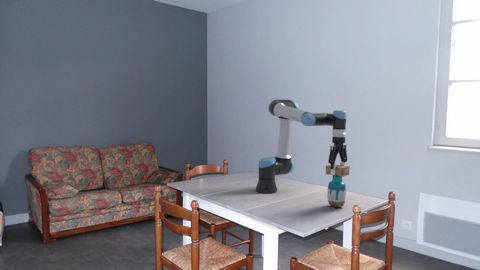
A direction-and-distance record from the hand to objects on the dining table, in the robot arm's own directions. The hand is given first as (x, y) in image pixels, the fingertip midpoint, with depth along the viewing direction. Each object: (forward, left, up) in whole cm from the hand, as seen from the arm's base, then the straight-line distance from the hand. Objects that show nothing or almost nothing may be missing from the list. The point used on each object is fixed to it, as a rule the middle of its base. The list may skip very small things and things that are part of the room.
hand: (337, 173), depth 216 cm
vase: (0, 0, -21) cm, 21 cm away
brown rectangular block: (0, 0, -1) cm, 1 cm away
